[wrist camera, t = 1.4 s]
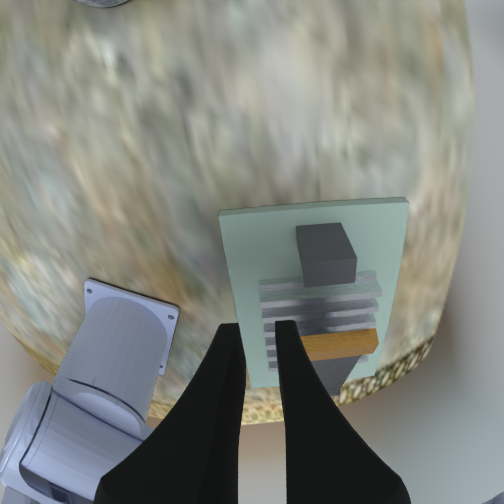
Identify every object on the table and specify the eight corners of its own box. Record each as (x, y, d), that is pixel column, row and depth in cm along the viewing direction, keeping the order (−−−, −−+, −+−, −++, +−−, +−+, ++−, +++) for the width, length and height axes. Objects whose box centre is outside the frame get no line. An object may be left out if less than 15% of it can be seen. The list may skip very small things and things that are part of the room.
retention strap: (339, 385, 25) (341, 396, 25) (294, 390, 26) (295, 401, 25) (375, 324, 15) (379, 343, 14) (297, 332, 15) (299, 353, 15)
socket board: (372, 369, 28) (383, 408, 24) (251, 381, 29) (250, 423, 25) (404, 197, 19) (437, 233, 15) (219, 210, 20) (209, 251, 16)
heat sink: (361, 345, 25) (366, 363, 24) (268, 355, 26) (268, 374, 24) (374, 269, 21) (382, 287, 19) (259, 280, 22) (259, 299, 20)
